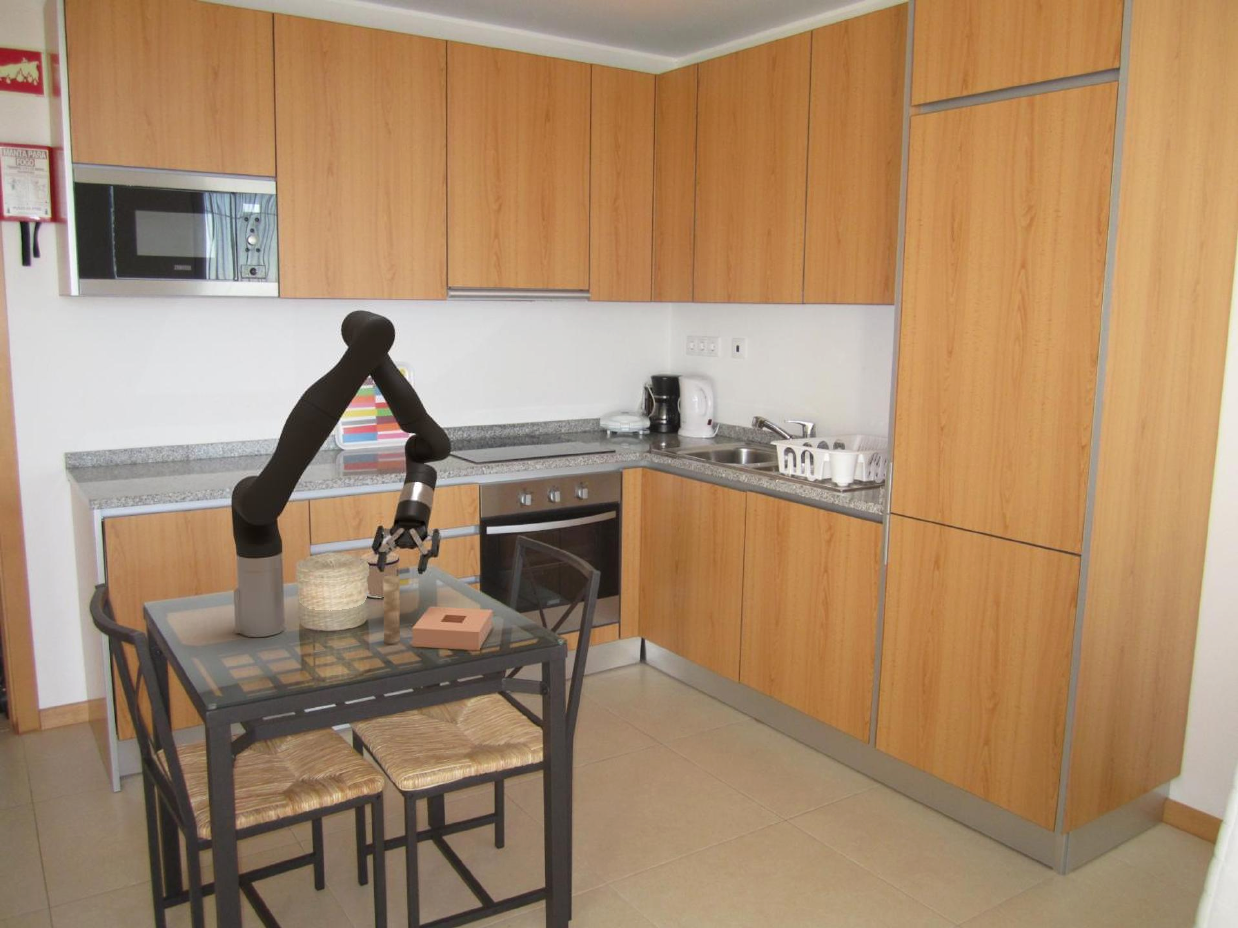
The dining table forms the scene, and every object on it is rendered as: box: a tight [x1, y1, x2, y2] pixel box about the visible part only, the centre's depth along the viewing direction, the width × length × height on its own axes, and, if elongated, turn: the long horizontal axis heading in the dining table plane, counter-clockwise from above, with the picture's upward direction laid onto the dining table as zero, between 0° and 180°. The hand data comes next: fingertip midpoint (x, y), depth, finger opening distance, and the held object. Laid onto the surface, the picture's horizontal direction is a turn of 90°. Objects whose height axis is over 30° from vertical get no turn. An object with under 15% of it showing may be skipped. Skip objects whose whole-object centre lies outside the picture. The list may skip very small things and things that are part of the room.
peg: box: [383, 575, 401, 645], centre depth 212 cm, size 3×3×14 cm
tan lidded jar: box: [360, 545, 400, 597], centre depth 245 cm, size 12×9×12 cm
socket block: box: [411, 606, 494, 651], centre depth 217 cm, size 14×14×4 cm
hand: (400, 571), depth 218 cm, fingers open, 8 cm apart
